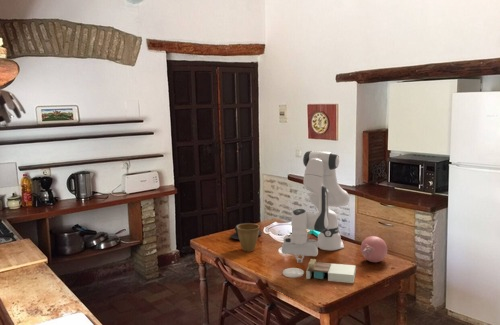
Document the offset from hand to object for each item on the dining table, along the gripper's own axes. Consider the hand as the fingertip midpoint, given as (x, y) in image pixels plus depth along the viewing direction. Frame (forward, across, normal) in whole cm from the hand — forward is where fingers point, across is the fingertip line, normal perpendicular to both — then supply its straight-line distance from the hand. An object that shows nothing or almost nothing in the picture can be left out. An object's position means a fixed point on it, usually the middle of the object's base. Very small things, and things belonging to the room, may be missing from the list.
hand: (299, 262), depth 252 cm
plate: (+7, +4, 0) cm, 8 cm away
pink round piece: (+7, -38, -27) cm, 47 cm away
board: (+7, -17, -2) cm, 19 cm away
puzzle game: (+7, +15, -74) cm, 76 cm away
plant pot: (+7, +41, -33) cm, 53 cm away
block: (+7, -11, +1) cm, 13 cm away
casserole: (+7, +51, -60) cm, 79 cm away
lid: (+2, -11, 0) cm, 11 cm away
